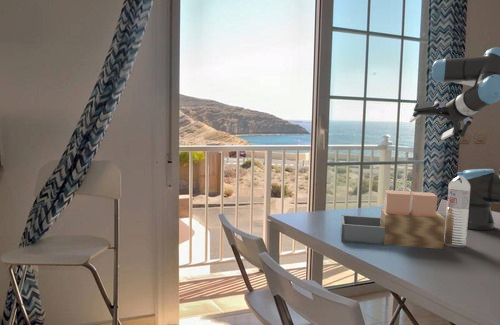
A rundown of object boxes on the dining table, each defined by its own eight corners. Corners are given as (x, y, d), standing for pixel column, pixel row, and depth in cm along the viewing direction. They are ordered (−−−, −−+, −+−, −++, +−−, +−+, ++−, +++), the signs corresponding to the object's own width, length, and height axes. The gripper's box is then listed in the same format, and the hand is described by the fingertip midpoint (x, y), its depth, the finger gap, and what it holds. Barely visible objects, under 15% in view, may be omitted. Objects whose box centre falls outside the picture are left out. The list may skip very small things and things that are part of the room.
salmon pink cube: (431, 212, 149) (432, 192, 148) (435, 217, 142) (437, 196, 141) (408, 211, 150) (410, 191, 149) (412, 215, 143) (413, 194, 143)
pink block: (405, 210, 150) (407, 191, 150) (409, 215, 143) (410, 194, 143) (383, 209, 152) (384, 189, 151) (386, 213, 145) (387, 193, 144)
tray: (379, 233, 157) (380, 217, 156) (383, 245, 142) (385, 227, 142) (340, 230, 159) (341, 214, 159) (341, 241, 145) (342, 224, 144)
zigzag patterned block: (435, 238, 152) (437, 211, 151) (443, 249, 140) (445, 219, 139) (379, 234, 155) (381, 207, 154) (383, 244, 144) (385, 215, 143)
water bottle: (468, 248, 141) (474, 174, 138) (446, 247, 142) (452, 173, 140) (462, 243, 148) (468, 171, 145) (441, 241, 149) (447, 170, 146)
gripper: (427, 96, 136) (394, 120, 156) (494, 133, 137) (453, 152, 157) (434, 78, 139) (401, 103, 159) (500, 114, 139) (458, 135, 160)
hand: (426, 127), depth 158 cm, fingers open, 13 cm apart
